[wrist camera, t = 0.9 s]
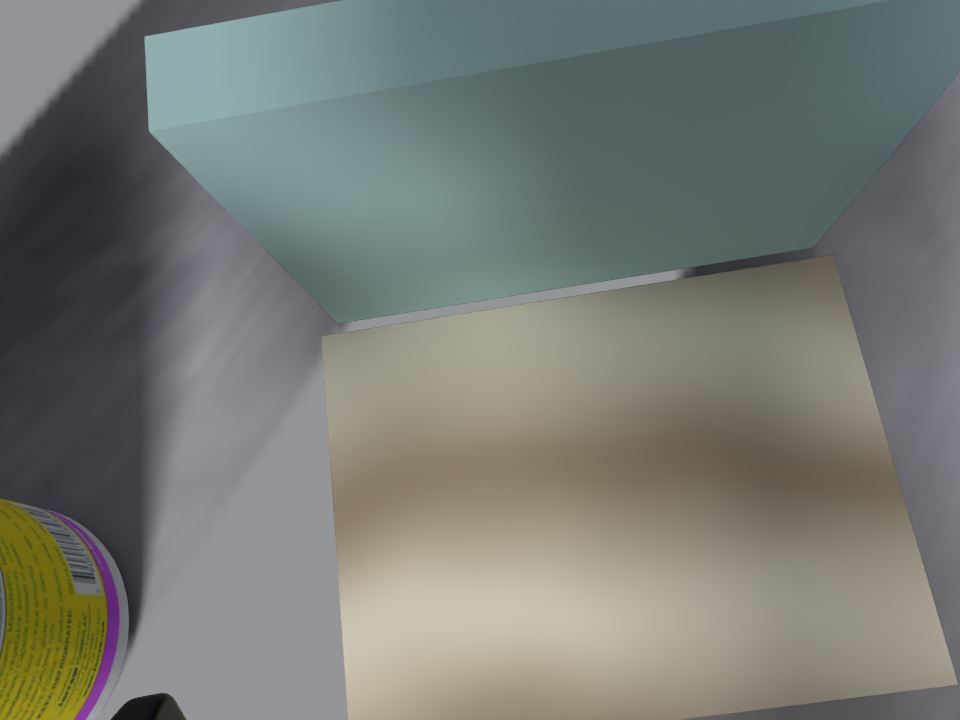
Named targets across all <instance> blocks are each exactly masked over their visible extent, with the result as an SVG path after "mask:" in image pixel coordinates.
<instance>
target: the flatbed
mask: <svg viewBox="0 0 960 720" xmlns="http://www.w3.org/2000/svg"><path fill="white" fill-rule="evenodd" d="M321 339H322V353H323V368H324V382H325V395H326V410H327V423H328V439H329V452H330V467H331V481H332V496H333V510H334V524H335V538H336V552H337V567H338V579H339V580H338V581H339V595H340V608H341V624H342V636H343V650H344V666H345V680H346V694H347V708H348V720H683V719H691V718H699V717H707V716H715V715H723V714H731V713H739V712H746V711H754V710H762V709H770V708H778V707H786V706H794V705H802V704H810V703H817V702H825V701H833V700H841V699H849V698H857V697H865V696H873V695H881V694H888V693H896V692H904V691H912V690H920V689H928V688H936V687H944V686H952V685H958V682H957V679H956V675H955V672H954V668H953V665H952V662H951V658H950V655H949V651H948V648H947V644H946V641H945V638H944V634H943V631H942V627H941V624H940V620H939V617H938V613H937V610H936V607H935V603H934V600H933V596H932V593H931V589H930V586H929V583H928V579H927V576H926V572H925V569H924V565H923V562H922V559H921V555H920V552H919V548H918V545H917V541H916V538H915V535H914V531H913V528H912V524H911V521H910V517H909V514H908V510H907V507H906V504H905V500H904V497H903V493H902V490H901V486H900V483H899V480H898V476H897V473H896V469H895V466H894V462H893V459H892V456H891V452H890V449H889V445H888V442H887V438H886V435H885V432H884V428H883V425H882V421H881V418H880V414H879V411H878V407H877V404H876V401H875V397H874V394H873V390H872V387H871V383H870V380H869V377H868V373H867V370H866V366H865V363H864V359H863V356H862V353H861V349H860V346H859V342H858V339H857V335H856V332H855V328H854V325H853V322H852V318H851V315H850V311H849V308H848V304H847V301H846V298H845V294H844V291H843V287H842V284H841V280H840V277H839V274H838V270H837V267H836V263H835V260H834V256H833V255H829V256H823V257H817V258H810V259H804V260H798V261H791V262H785V263H779V264H772V265H766V266H760V267H754V268H747V269H741V270H735V271H728V272H722V273H716V274H709V275H703V276H697V277H691V278H684V279H678V280H672V281H665V282H659V283H653V284H647V285H640V286H634V287H628V288H621V289H615V290H609V291H602V292H596V293H590V294H584V295H577V296H571V297H565V298H559V299H552V300H546V301H539V302H534V303H527V304H521V305H514V306H508V307H502V308H495V309H490V310H483V311H477V312H470V313H464V314H458V315H451V316H445V317H439V318H432V319H427V320H420V321H414V322H407V323H401V324H395V325H388V326H382V327H376V328H369V329H364V330H357V331H351V332H344V333H338V334H332V335H325V336H321Z"/></svg>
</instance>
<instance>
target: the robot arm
mask: <svg viewBox="0 0 960 720" xmlns="http://www.w3.org/2000/svg"><path fill="white" fill-rule="evenodd" d="M111 720H186V718H185V716H184V715H183V713H182V711H181V710H180V708H179V706H178V704H177V703H176V701H175V700H174V698H173V697H172V696H170V695H168V694H167V693H159V694H154V695H148V696H143V697H138V698H134V699H132V700H129V701H128V702H127V703H125V704H124V705H123V706H122V707H121V708H120V709H119V711H118V712H117V713H116V714H115V715H114V716H113V718H112V719H111Z"/></svg>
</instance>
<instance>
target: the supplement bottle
mask: <svg viewBox="0 0 960 720" xmlns="http://www.w3.org/2000/svg"><path fill="white" fill-rule="evenodd" d="M128 633H129V610H128V600H127V595H126V590H125V587H124V583H123V580H122V577H121V574H120V572H119V569H118V567H117V565H116V563H115V561H114V559H113V558H112V556H111V555H110V553H109V552H108V550H107V549H106V548H105V546H104V545H103V544H102V543H101V542H100V541H99V539H98V538H97V537H96V536H94V535H93V534H92V533H91V532H90V531H89V530H88V529H86V528H85V527H84V526H82V525H81V524H79V523H78V522H76V521H74V520H72V519H71V518H69V517H66V516H64V515H62V514H59V513H56V512H53V511H50V510H46V509H43V508H39V507H35V506H31V505H26V504H22V503H18V502H14V501H9V500H4V499H0V720H95V719H96V718H97V717H98V715H99V714H100V712H101V711H102V710H103V708H104V707H105V705H106V703H107V701H108V700H109V698H110V696H111V694H112V692H113V690H114V688H115V686H116V684H117V681H118V679H119V676H120V673H121V670H122V667H123V664H124V661H125V657H126V651H127V645H128Z"/></svg>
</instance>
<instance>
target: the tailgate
mask: <svg viewBox="0 0 960 720" xmlns="http://www.w3.org/2000/svg"><path fill="white" fill-rule="evenodd" d="M145 56H146V77H147V99H148V121H149V132H150V133H151V134H152V135H153V136H154V137H155V138H156V139H157V140H158V141H159V142H160V143H161V144H162V145H163V146H164V147H165V148H166V149H167V150H168V151H169V152H170V153H171V154H172V155H173V156H174V157H175V158H176V159H177V160H178V161H179V162H180V163H181V164H182V165H183V166H184V168H185V169H186V170H187V171H188V172H189V173H190V174H191V175H192V176H193V177H194V178H195V179H196V180H197V181H198V182H199V183H200V184H201V185H202V186H203V187H204V188H205V189H206V190H207V191H208V192H209V193H210V194H211V195H212V196H213V197H214V198H215V199H216V200H217V201H218V202H219V203H220V204H221V205H222V206H223V207H224V208H225V209H226V210H227V211H228V212H229V213H230V214H231V215H232V216H233V217H234V218H235V219H236V221H237V222H238V223H239V224H240V225H241V226H242V227H243V228H244V229H245V230H246V231H247V232H248V233H249V234H250V235H251V236H252V237H253V238H254V239H255V240H256V241H257V242H258V243H259V244H260V245H261V246H262V247H263V248H264V249H265V250H266V251H267V252H268V253H269V254H270V255H271V256H272V257H273V258H274V259H275V260H276V261H277V262H278V263H279V264H280V265H281V266H282V267H283V268H284V269H285V270H286V271H287V272H288V274H289V275H290V276H291V277H292V278H293V279H294V280H295V281H296V282H297V283H298V284H299V285H300V286H301V287H302V288H303V289H304V290H305V291H306V292H307V293H308V294H309V295H310V296H311V297H312V298H313V299H314V300H315V301H316V302H317V303H318V304H319V305H320V306H321V307H322V308H323V309H324V310H325V311H326V312H327V313H328V314H329V315H330V316H331V317H332V318H333V319H334V320H335V321H336V322H337V323H338V324H339V323H345V322H351V321H357V320H364V319H370V318H376V317H382V316H389V315H395V314H401V313H408V312H414V311H420V310H426V309H433V308H439V307H445V306H451V305H458V304H464V303H470V302H476V301H483V300H489V299H495V298H502V297H508V296H514V295H520V294H527V293H533V292H539V291H546V290H552V289H558V288H564V287H571V286H577V285H583V284H589V283H596V282H602V281H608V280H614V279H620V278H627V277H633V276H639V275H646V274H652V273H658V272H665V271H671V270H677V269H684V268H690V267H696V266H702V265H709V264H715V263H721V262H727V261H734V260H740V259H746V258H753V257H759V256H765V255H771V254H778V253H784V252H790V251H796V250H803V249H809V248H813V247H814V246H815V245H816V244H817V242H818V241H819V240H820V239H821V238H822V236H823V235H824V234H825V233H826V232H827V230H828V229H829V228H830V227H831V226H832V224H833V223H834V222H835V221H836V220H837V219H838V217H839V216H840V215H841V214H842V213H843V211H844V210H845V209H846V208H847V207H848V205H849V204H850V203H851V202H852V201H853V199H854V198H855V197H856V196H857V195H858V193H859V192H860V191H861V190H862V189H863V187H864V186H865V185H866V184H867V183H868V181H869V180H870V179H871V178H872V177H873V175H874V174H875V173H876V172H877V171H878V169H879V168H880V167H881V166H882V165H883V163H884V162H885V161H886V160H887V159H888V157H889V156H890V155H891V154H892V153H893V151H894V150H895V149H896V148H897V147H898V146H899V144H900V143H901V142H902V141H903V140H904V138H905V137H906V136H907V135H908V134H909V132H910V131H911V130H912V129H913V128H914V126H915V125H916V124H917V123H918V122H919V120H920V119H921V118H922V117H923V116H924V114H925V113H926V112H927V111H928V110H929V108H930V107H931V106H932V105H933V104H934V102H935V101H936V100H937V99H938V98H939V96H940V95H941V94H942V93H943V92H944V90H945V89H946V88H947V87H948V86H949V84H950V83H951V82H952V81H953V80H954V78H955V77H956V76H957V75H958V74H959V72H960V0H342V1H336V2H331V3H325V4H320V5H314V6H309V7H303V8H298V9H293V10H287V11H282V12H276V13H271V14H265V15H260V16H254V17H249V18H243V19H238V20H233V21H227V22H222V23H216V24H211V25H205V26H200V27H194V28H189V29H184V30H178V31H173V32H167V33H162V34H156V35H151V36H145Z"/></svg>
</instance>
